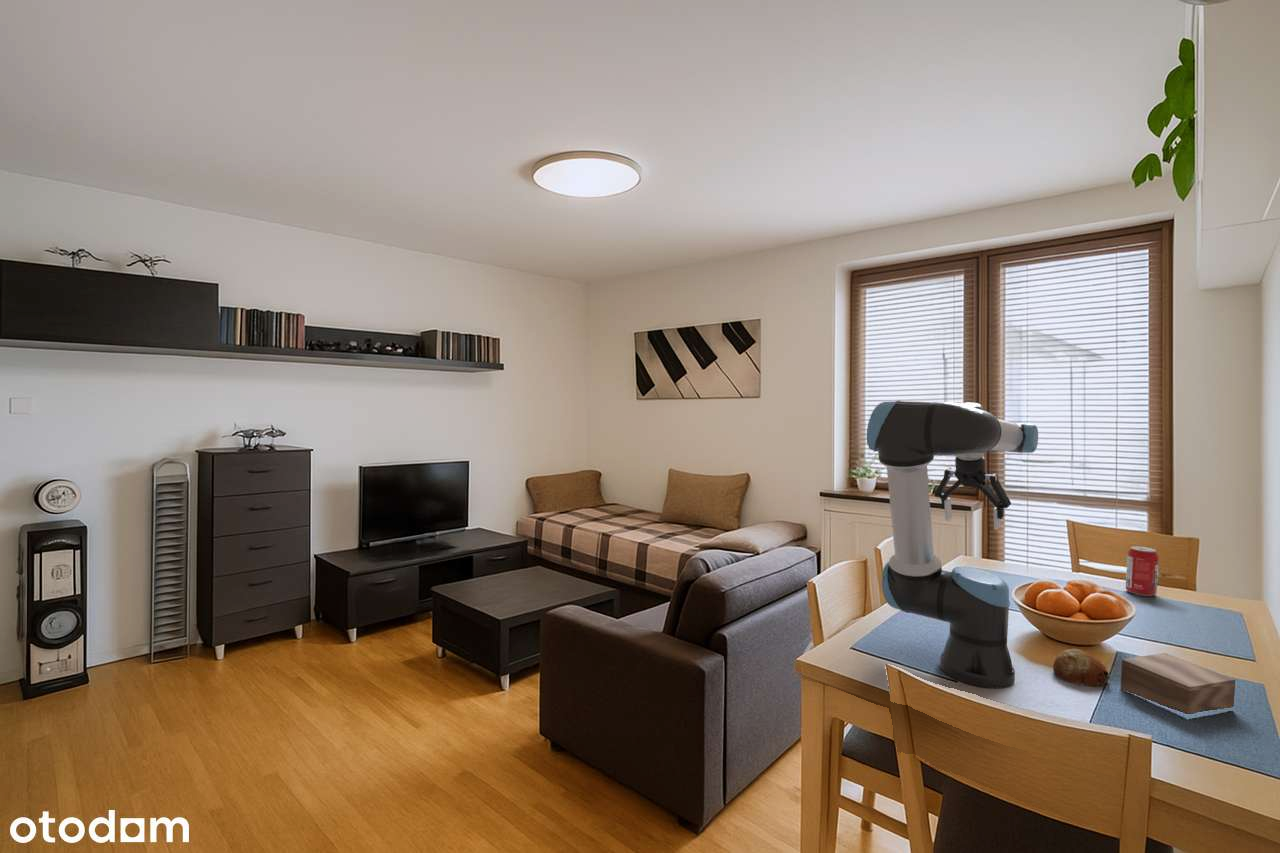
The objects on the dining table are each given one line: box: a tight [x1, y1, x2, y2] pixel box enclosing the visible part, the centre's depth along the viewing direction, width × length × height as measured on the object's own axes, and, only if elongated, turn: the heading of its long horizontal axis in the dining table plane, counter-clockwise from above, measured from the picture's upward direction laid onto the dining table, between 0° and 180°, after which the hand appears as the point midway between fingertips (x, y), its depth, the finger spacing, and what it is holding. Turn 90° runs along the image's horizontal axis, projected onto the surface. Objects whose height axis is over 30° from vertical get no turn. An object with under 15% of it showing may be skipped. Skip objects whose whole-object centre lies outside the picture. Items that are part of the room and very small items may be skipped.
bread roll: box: [1052, 648, 1110, 688], centre depth 139 cm, size 10×10×8 cm
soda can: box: [1125, 545, 1160, 597], centre depth 198 cm, size 8×8×15 cm
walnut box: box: [1120, 652, 1236, 714], centre depth 128 cm, size 13×13×7 cm
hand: (972, 523), depth 180 cm, fingers open, 13 cm apart
